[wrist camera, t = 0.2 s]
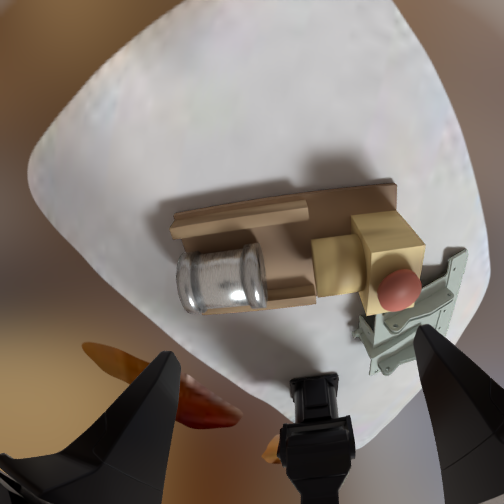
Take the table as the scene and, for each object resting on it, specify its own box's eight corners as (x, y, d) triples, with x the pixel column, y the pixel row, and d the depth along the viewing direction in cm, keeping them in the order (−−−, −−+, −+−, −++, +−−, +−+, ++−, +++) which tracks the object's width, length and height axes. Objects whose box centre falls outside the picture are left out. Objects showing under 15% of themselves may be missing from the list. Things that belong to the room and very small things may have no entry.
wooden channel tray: (388, 281, 25) (413, 336, 19) (207, 303, 28) (192, 361, 22) (394, 182, 20) (438, 223, 14) (175, 213, 22) (141, 262, 16)
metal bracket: (368, 398, 27) (380, 313, 20) (348, 365, 32) (346, 274, 25) (455, 346, 28) (484, 253, 21) (432, 320, 33) (449, 229, 26)
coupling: (268, 280, 25) (267, 321, 21) (204, 287, 26) (192, 326, 22) (258, 231, 22) (254, 267, 18) (187, 241, 23) (170, 277, 19)
